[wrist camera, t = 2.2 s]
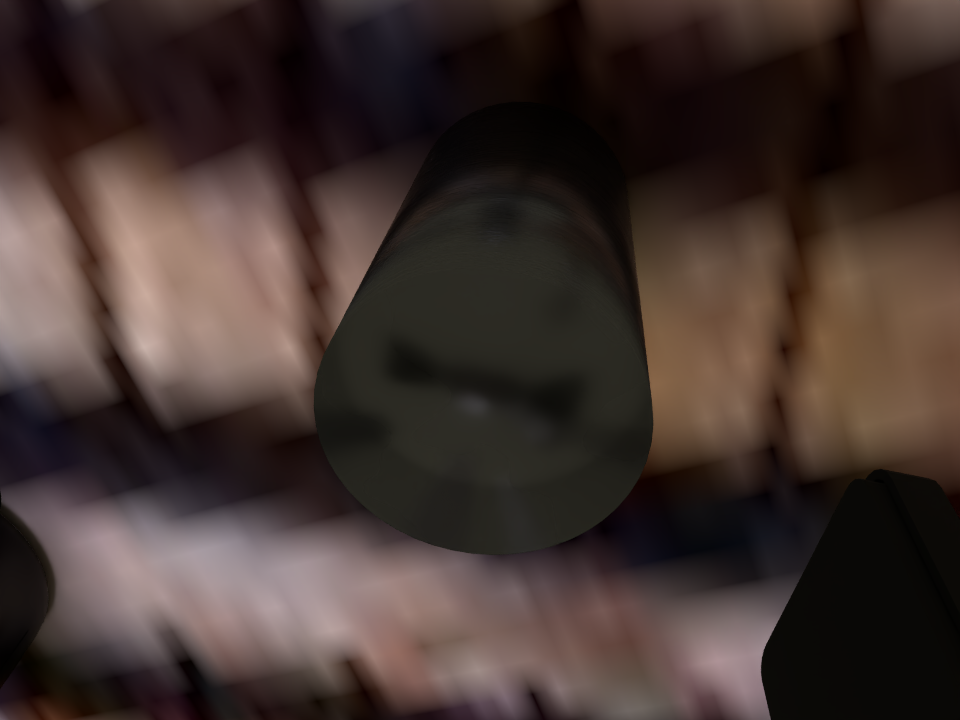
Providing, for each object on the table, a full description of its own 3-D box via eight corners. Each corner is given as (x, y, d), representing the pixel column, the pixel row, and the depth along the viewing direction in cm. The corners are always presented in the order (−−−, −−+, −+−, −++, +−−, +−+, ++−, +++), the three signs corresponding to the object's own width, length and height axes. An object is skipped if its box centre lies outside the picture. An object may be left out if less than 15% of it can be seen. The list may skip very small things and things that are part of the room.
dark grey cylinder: (654, 128, 17) (698, 313, 10) (598, 324, 20) (603, 582, 13) (433, 80, 17) (331, 234, 10) (402, 281, 20) (300, 517, 13)
